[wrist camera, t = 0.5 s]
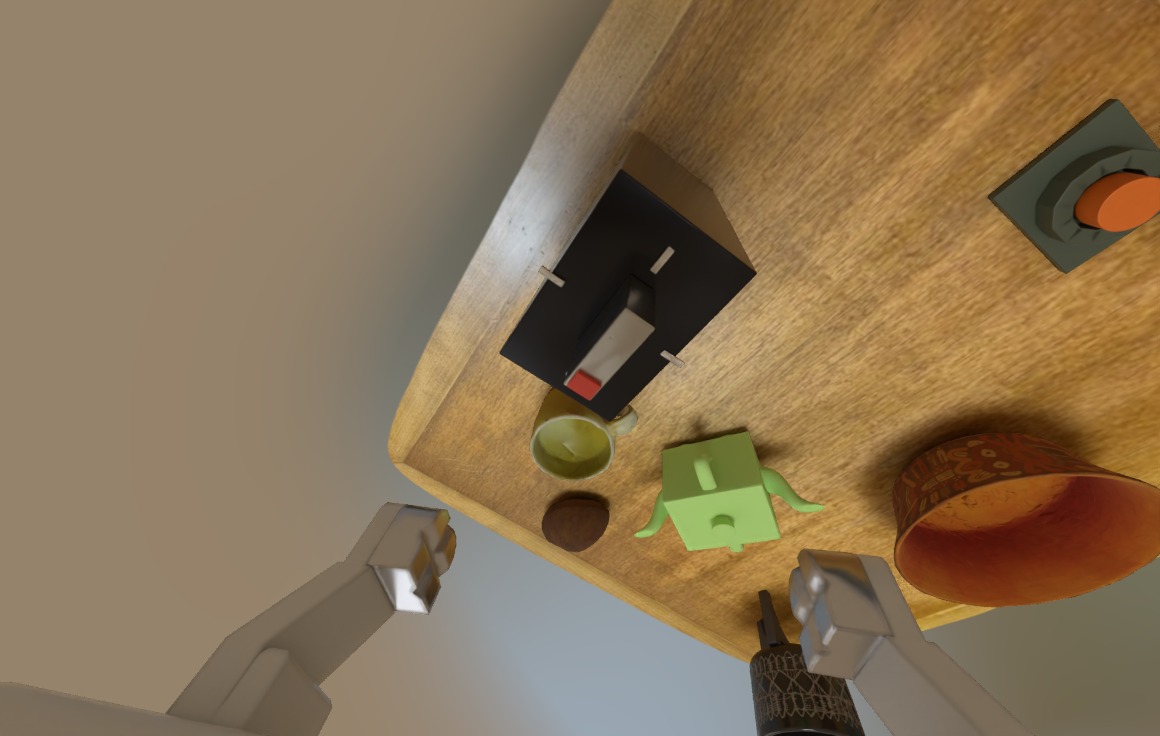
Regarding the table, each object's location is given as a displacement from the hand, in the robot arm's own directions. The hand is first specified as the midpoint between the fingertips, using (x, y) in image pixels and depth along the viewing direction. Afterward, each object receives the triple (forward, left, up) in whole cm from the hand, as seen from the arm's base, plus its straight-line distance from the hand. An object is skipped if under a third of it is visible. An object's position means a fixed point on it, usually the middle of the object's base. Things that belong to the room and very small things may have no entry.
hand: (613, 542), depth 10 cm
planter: (+66, +10, -34) cm, 75 cm away
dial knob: (+1, -1, -14) cm, 14 cm away
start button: (+6, +32, -32) cm, 46 cm away
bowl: (+37, +30, -34) cm, 58 cm away
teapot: (+32, +3, -34) cm, 47 cm away
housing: (+6, +32, -34) cm, 47 cm away
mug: (+21, -10, -34) cm, 41 cm away
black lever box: (+1, -1, -34) cm, 34 cm away
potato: (+39, -17, -34) cm, 54 cm away
